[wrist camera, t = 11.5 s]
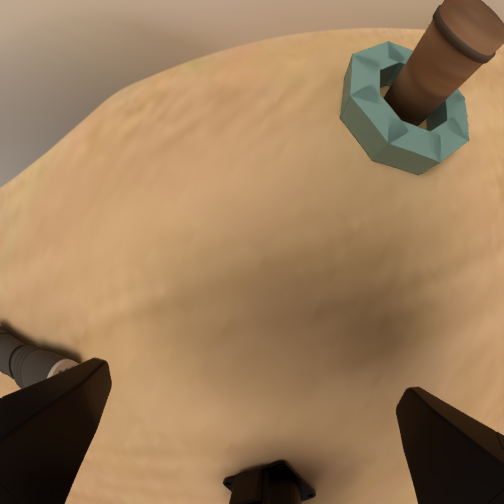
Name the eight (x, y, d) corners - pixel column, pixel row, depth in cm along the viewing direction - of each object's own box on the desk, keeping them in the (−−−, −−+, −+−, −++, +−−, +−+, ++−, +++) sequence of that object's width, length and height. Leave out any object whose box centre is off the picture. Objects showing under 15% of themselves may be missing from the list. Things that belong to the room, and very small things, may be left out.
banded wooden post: (425, 125, 18) (518, 38, 5) (397, 142, 18) (496, 44, 5) (398, 90, 18) (468, -14, 5) (368, 105, 18) (435, -15, 5)
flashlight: (5, 356, 22) (-24, 366, 17) (-1, 316, 22) (-32, 322, 17) (88, 401, 21) (56, 425, 15) (82, 353, 21) (43, 371, 15)
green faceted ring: (463, 141, 17) (485, 128, 14) (393, 192, 18) (413, 182, 14) (396, 57, 18) (409, 34, 14) (317, 92, 18) (322, 66, 15)
